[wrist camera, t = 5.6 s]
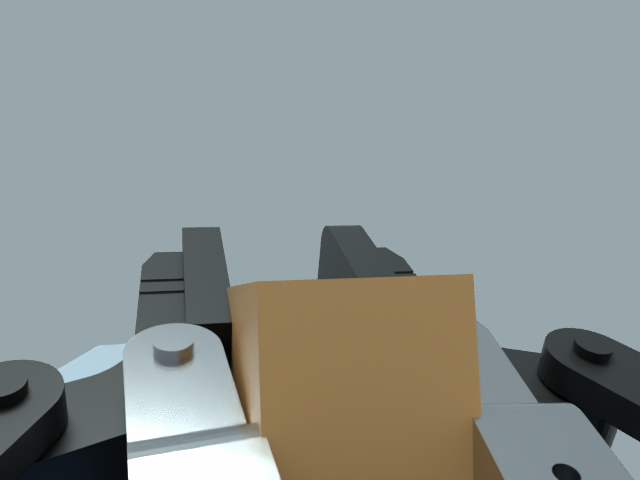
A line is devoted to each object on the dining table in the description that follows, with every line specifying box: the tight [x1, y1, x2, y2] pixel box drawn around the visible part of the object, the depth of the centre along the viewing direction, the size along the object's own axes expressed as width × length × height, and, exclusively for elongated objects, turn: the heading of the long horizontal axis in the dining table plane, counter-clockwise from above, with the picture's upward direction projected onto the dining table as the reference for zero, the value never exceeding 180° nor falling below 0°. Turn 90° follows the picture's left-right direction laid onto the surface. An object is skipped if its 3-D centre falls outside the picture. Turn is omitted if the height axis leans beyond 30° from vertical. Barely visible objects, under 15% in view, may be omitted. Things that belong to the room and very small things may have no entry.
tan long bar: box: [227, 274, 482, 480], centre depth 18 cm, size 26×2×2 cm, turn 13°
